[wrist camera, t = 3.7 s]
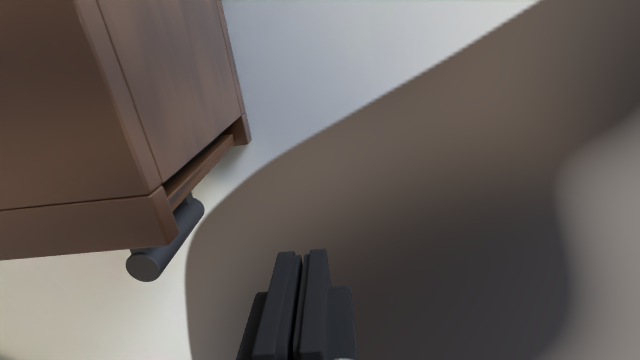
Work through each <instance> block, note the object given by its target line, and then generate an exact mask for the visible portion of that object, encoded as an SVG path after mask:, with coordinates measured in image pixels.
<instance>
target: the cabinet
mask: <svg viewBox="0 0 640 360" xmlns="http://www.w3.org/2000/svg"><path fill="white" fill-rule="evenodd" d="M230 134H232V135H233V139H234V145H233V146H238V145H247V144H249V142H250V141H251V134H250V130H249V125H248V121H247V116H246V113H245V108H244V103H243V99H242V94H241V89H240V85H239V80H238V76H237V71H236V67H235V62H234V58H233V53H232V49H231V44H230V39H229V35H228V30H227V26H226V21H225V17H224V12H223V8H222V3H221V0H0V261H1V260H12V259H23V258H34V257H46V256H57V255H68V254H79V253H90V252H102V251H113V250H124V249H135V248H147V247H158V246H168V245H170V244H171V242H172V241H173V240H174V239H175V237H176V236H177V235H178V233H179V229H178V227H177V224H176V221H175V218H174V216H173V213H172V210H171V207H170V204H169V202H168V199H167V196H166V193H165V191H164V188H163V186H160V185H161V184H162V183H164V182H165V181H166V180H168V179H169V178H170V177H171V176H172V175H173V174H174V173H176V172H177V171H178V170H179V169H180V168H181V167H183V166H184V165H185V164H186V163H187V162H188V161H189V160H191V159H192V158H193V157H194V156H195V155H196V154H198V153H199V152H200V151H201V150H202V149H203V148H204V147H206V146H207V145H208V144H209V143H210V142H211V141H213V140H214V139H215V138H216V137H220V136H222V135H230Z"/></svg>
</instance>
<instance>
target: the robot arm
mask: <svg viewBox="0 0 640 360" xmlns="http://www.w3.org/2000/svg"><path fill="white" fill-rule="evenodd" d="M236 360H357V348H356V336H355V324H354V313H353V303H352V294H351V286H340V287H331V280H330V273H329V265H328V258H327V252H326V249H314V250H310V254H305V255H304V262H303V265H302V259H301V255H295V252H294V251H290V252H279V253H278V255H277V259H276V263H275V267H274V271H273V275H272V278H271V282H270V286H269V290H268V292H258V293H257V294H256V296H255V299H254V302H253V305H252V309H251V312H250V315H249V318H248V322H247V325H246V328H245V332H244V335H243V338H242V342H241V345H240V349H239V352H238V355H237V358H236Z"/></svg>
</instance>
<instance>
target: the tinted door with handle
mask: <svg viewBox="0 0 640 360" xmlns="http://www.w3.org/2000/svg"><path fill="white" fill-rule="evenodd" d="M233 145H234V139H233V135H232V134H230V135H222V136H220V137H216V138H215V139H214V140H213V141H211V142H210V143H209V144H208V145H207V146H206V147H204V148H203V149H202V150H201V151H200V152H199V153H198V154H196V155H195V156H194V157H193V158H192V159H191V160H189V161H188V162H187V163H186V164H185V165H184V166H183V167H181V168H180V169H179V170H178V171H177V172H176V173H174V174H173V175H172V176H171V177H170V178H169V179H168V180H166V181H165V182H164V183H162V184H161V185H160V186H163V188H164V191H165V193H166V196H167V199H168V202H169V204H170V207H171V210H172V213H173V216H174V218H175V221H176V224H177V227H178V229H179V233H178V235H177V236H176V237H175V239H174V240H173V241H172V242H171V244H170V245H168V246H158V247H147V248H135V249H130V252H131V255H130V257H129V258H128V259H127V261H126V269H127V271H128V273H129V274H130V275H131V276H132V277H133V278H135V279H137V280H139V281H143V282H151V281H154V280H156V279H157V278H158V277H159V276H160V275H161V273H162V272H163V270H164V269H165V268H166V266H167V265H168V263H169V262H170V261H171V259H172V258H173V257H174V255H175V254H176V252H177V251H178V250H179V248H180V247H181V245H182V244H183V243H184V241H185V240H186V238H187V237H188V236H189V234H190V233H191V231H192V230H193V229H194V227H195V226H196V224H197V223H198V222H199V220H200V219H201V218H202V216H203V215H204V206H203V204H202V203H201V202H200V201H199V200H197V199H195V198H193V196H192V193H191V191H192V190H193V189H194V187H195V186H196V185H197V184H198V183H199V182H200V181H201V180H202V179H203V178H204V176H205V175H206V174H207V173H208V172H209V171H210V170H211V169H212V168H213V167H214V165H215V164H216V163H217V162H218V161H219V160H220V159H221V158H222V157H223V156H224V154H225V153H226V152H227V151H228V150H229V149H230V148H231V147H232V146H233Z"/></svg>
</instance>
